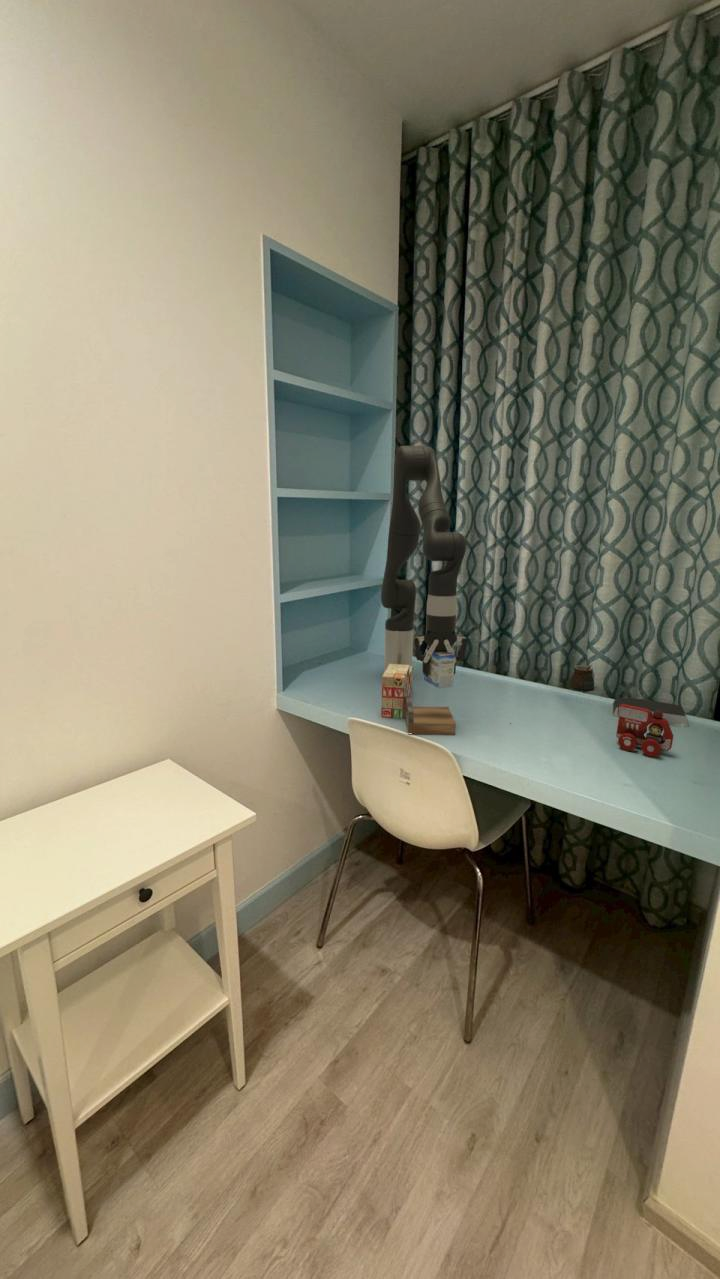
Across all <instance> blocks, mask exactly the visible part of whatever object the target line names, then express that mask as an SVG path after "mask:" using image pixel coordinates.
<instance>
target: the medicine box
mask: <svg viewBox="0 0 720 1279" xmlns="http://www.w3.org/2000/svg"><path fill="white" fill-rule="evenodd" d="M425 652H426V649H425ZM425 652H424V653H425ZM455 656H456V655H455V654H454V655H453V654H449V653H448V652H447V651H446V652H442V651H438V652H433V654H432V655H431V656H430V658H429V660H428V663H429V671H428V677H425V674H423V679H424V681H425V682H427V683H429V684H430V685H433V686H434V687H436V688H438V689H445V688H452V687H454V679H455V675H454V663H455Z"/></svg>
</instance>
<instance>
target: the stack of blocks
mask: <svg viewBox="0 0 720 1279" xmlns="http://www.w3.org/2000/svg"><path fill="white" fill-rule="evenodd" d="M413 670H414V666H413V665H412V666H410V665H400V664H389V665H388V668H387V670H386V671H385V673H384V672H383V674H382V676H381V681H382V682H381V684H382V685H381V710H380V711H381V714H380V715H381V716H380V717H381V718H385V719H396V720H404V719H405V696H408V697H410V699H411V697H412V694H413V686H414V684H413V682H414V680H413V679H414V677H413V674H414V673H413Z"/></svg>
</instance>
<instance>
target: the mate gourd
mask: <svg viewBox="0 0 720 1279" xmlns="http://www.w3.org/2000/svg"><path fill="white" fill-rule="evenodd" d="M592 666H593V665H592V664H591V665H589V666H587V665H575V666H574V668H573V673H572V675H571V676H570V679H569V685H570V687H571V688H572V689H574V690H577V691H581V692H583V691H584V692H588V691H591V690H593V689H594V687H595V679H594V676H593V672H594V669H593V667H592Z"/></svg>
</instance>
